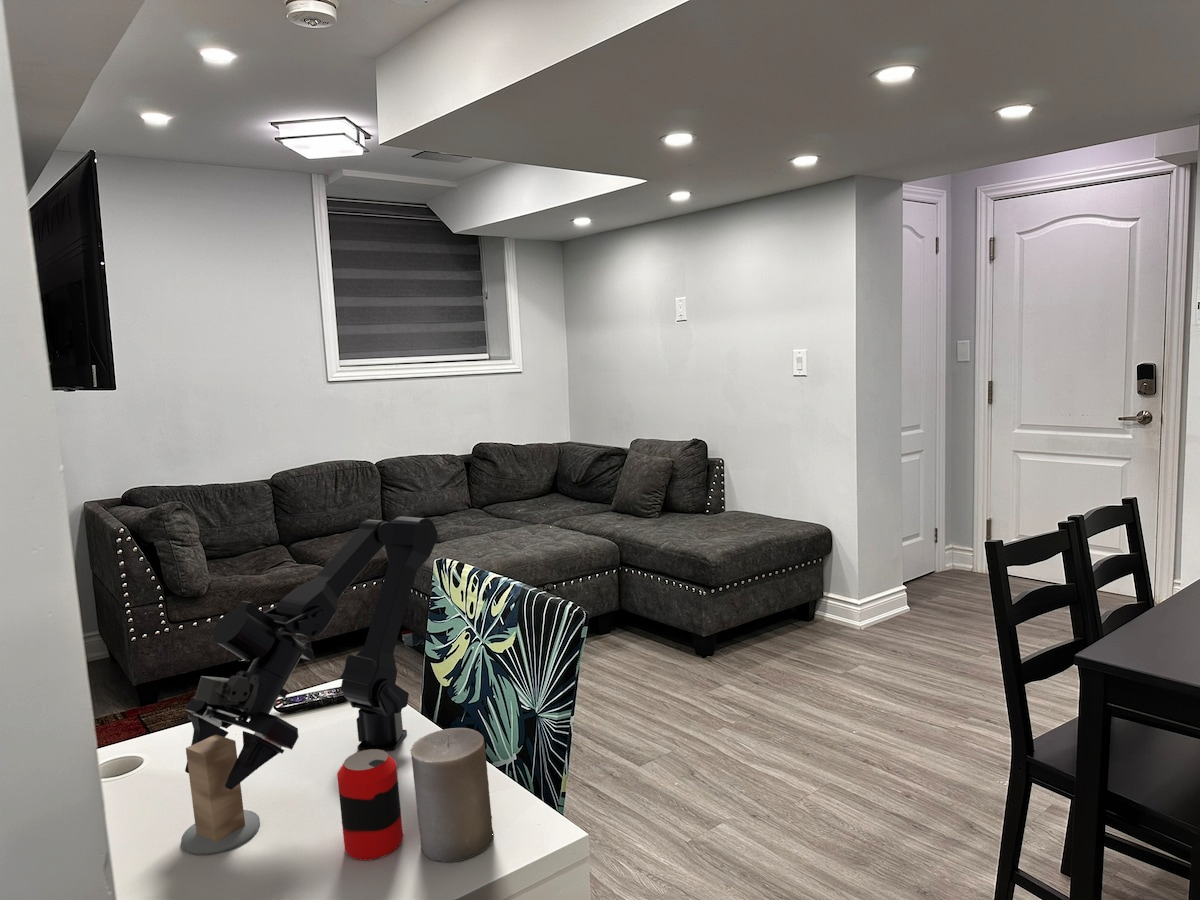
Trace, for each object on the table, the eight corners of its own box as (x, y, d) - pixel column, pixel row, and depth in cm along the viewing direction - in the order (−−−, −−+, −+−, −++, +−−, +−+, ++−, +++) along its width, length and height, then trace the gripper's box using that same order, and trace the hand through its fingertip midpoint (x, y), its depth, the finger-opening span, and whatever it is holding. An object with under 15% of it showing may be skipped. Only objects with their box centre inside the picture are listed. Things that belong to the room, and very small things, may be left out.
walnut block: (225, 817, 120) (215, 734, 118) (245, 825, 118) (235, 740, 116) (196, 833, 116) (185, 748, 115) (215, 842, 114) (205, 755, 112)
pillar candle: (503, 823, 115) (494, 719, 114) (477, 866, 106) (467, 753, 104) (438, 819, 118) (428, 717, 116) (407, 860, 108) (395, 750, 107)
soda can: (372, 868, 107) (364, 779, 106) (332, 851, 111) (323, 766, 110) (415, 837, 113) (407, 752, 112) (375, 822, 117) (367, 741, 116)
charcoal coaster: (273, 813, 121) (272, 809, 121) (235, 855, 111) (235, 851, 111) (208, 813, 123) (208, 809, 122) (165, 854, 113) (165, 850, 113)
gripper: (189, 641, 122) (123, 745, 115) (270, 660, 112) (204, 776, 105) (244, 673, 130) (185, 773, 122) (324, 694, 120) (265, 804, 112)
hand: (207, 780), depth 115 cm, fingers open, 9 cm apart
